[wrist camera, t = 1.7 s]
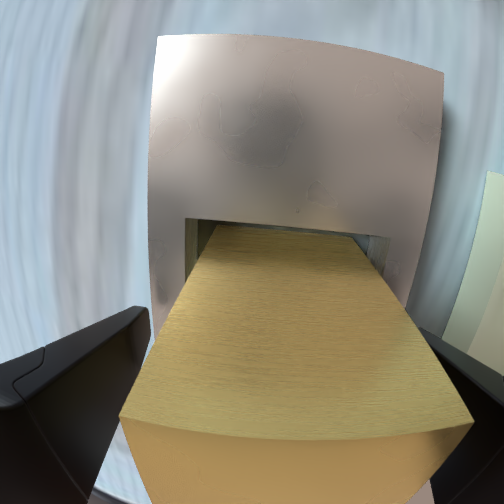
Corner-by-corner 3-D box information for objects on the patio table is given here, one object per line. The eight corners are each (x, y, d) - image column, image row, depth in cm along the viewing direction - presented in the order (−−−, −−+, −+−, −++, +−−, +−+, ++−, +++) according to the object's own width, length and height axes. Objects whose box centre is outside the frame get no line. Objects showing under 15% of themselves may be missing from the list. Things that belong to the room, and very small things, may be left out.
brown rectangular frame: (418, 80, 8) (444, 72, 7) (336, 433, 14) (340, 460, 12) (176, 51, 9) (158, 36, 7) (178, 421, 14) (170, 448, 12)
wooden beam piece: (351, 237, 10) (474, 422, 3) (328, 346, 12) (367, 537, 5) (217, 224, 11) (119, 415, 3) (213, 337, 12) (166, 531, 5)
